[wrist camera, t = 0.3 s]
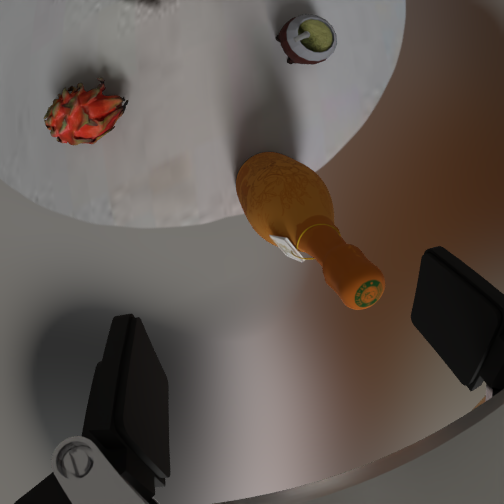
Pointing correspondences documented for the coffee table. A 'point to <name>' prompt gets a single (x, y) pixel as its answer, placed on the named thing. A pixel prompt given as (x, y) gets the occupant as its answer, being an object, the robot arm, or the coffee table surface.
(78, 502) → the robot arm
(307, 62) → the mate gourd
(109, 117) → the dragon fruit
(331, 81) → the coffee table surface
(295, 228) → the wine bottle
